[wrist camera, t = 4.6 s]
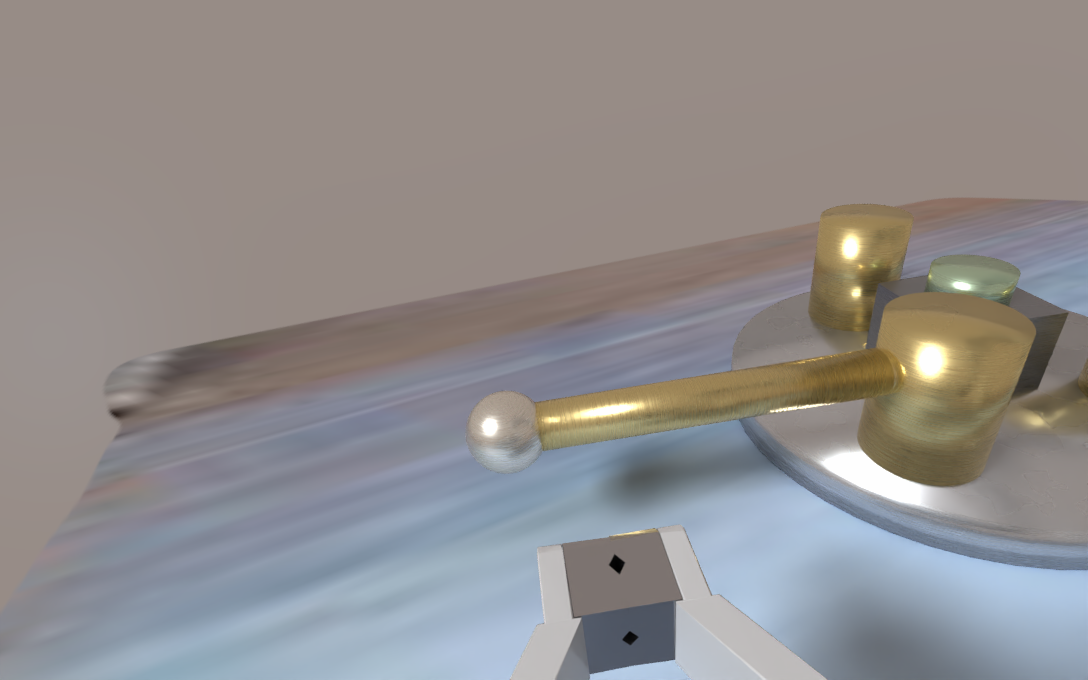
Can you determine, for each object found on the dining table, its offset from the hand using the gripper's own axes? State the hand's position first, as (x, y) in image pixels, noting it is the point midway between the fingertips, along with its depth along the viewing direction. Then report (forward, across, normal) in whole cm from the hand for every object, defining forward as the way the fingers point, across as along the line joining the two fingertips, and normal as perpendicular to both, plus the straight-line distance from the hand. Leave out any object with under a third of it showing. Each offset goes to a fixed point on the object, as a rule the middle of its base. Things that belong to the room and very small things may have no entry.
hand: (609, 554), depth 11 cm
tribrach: (+13, -19, +9) cm, 25 cm away
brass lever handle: (+8, -6, +7) cm, 13 cm away
